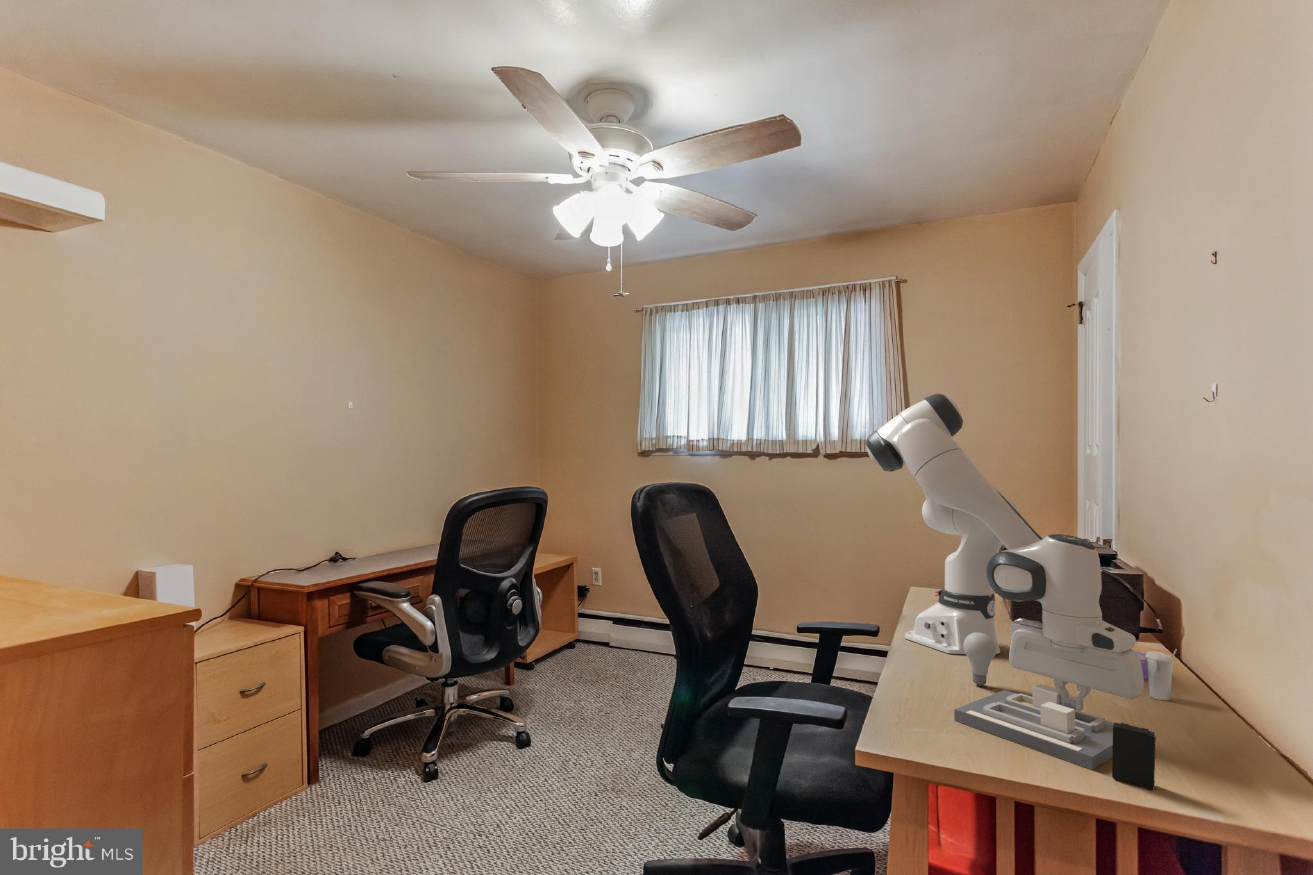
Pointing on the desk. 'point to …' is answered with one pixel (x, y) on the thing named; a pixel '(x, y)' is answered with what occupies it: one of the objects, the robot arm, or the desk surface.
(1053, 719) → the switch tab
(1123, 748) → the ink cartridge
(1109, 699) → the desk surface
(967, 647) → the lightbulb
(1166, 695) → the milkshake
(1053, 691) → the switch tab
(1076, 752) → the switch panel
